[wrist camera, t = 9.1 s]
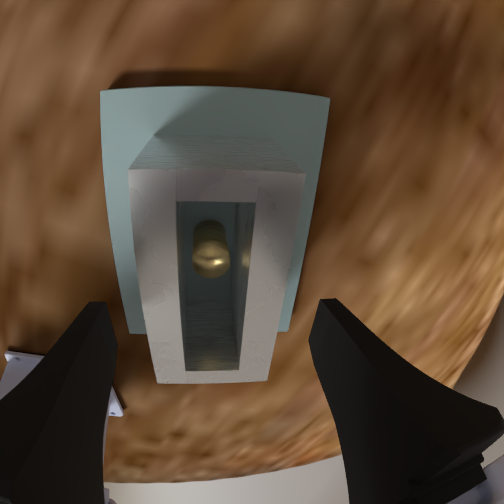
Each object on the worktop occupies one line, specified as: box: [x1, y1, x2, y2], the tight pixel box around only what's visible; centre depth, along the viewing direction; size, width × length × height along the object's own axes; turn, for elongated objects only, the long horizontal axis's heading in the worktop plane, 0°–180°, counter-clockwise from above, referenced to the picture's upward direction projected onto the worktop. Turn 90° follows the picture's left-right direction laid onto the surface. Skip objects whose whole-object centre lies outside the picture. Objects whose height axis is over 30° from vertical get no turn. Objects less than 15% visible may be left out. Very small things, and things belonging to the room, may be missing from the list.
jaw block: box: [128, 135, 306, 384], centre depth 14 cm, size 5×10×5 cm, turn 175°
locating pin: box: [192, 219, 230, 278], centre depth 14 cm, size 2×2×2 cm
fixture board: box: [100, 86, 330, 334], centre depth 16 cm, size 10×14×1 cm
